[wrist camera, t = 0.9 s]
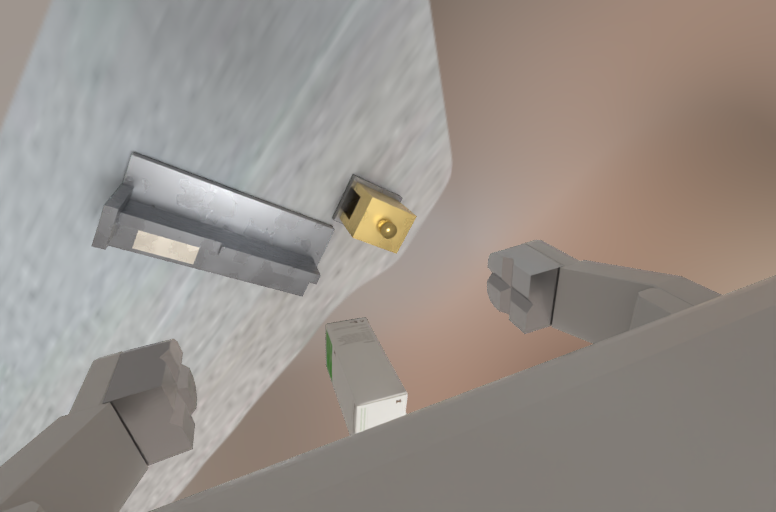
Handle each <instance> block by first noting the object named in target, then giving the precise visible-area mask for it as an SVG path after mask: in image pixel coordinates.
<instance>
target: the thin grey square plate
mask: <svg viewBox="0 0 776 512" xmlns="http://www.w3.org/2000/svg"><path fill="white" fill-rule="evenodd" d="M357 182H358V183H361V184H363V185H365V186H367V187H369V188H372V189H374V190H376V191H378V192H380V193H383V194H385V195H387V196H389V197H392V198H394V199H396V200H398V201H399V202H401V200H402V197H400V196H399V195H397V194H395V193H392V192H390V191H388V190H386V189H384V188H382V187H379V186H377V185H375V184H373V183H371V182H368V181H366V180H364V179H362V178H360V177H358V176H355V175H353V176H352V178H351V180H350V182H349V184H348V186H347V188H346V190H345V193H344V195H343V197H342V199H341V201H340V203H339V205H338V207H337V209H336V211H335V213H334V216H333V220H334V221H336V222H339V223H342V221H341V220H340V216H341V214H342V212H346V213H348V214H351V215H352V214H353V212H354V210H355V208H356V205H357V203H358V201H359V199H360V196H359V195H358V194H357V193H356V191H355V190H354V188H355V186H356V183H357ZM342 224H343V223H342Z"/></svg>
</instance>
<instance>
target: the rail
mask: <svg viewBox="0 0 776 512" xmlns="http://www.w3.org/2000/svg"><path fill="white" fill-rule="evenodd" d="M334 230H335V229H334V228H333V226H331V225H328V224H325V223H323V222H320V221H317V220H315V219H312V218H309V217H307V216H304V215H301V214H299V213H296V212H293V211H291V210H288V209H285V208H283V207H280V206H277V205H275V204H272V203H269V202H267V201H264V200H261V199H259V198H256V197H253V196H250V195H248V194H245V193H242V192H240V191H237V190H234V189H232V188H229V187H226V186H224V185H221V184H218V183H216V182H213V181H210V180H208V179H205V178H202V177H200V176H197V175H194V174H192V173H189V172H186V171H183V170H181V169H178V168H175V167H173V166H170V165H167V164H165V163H162V162H159V161H157V160H154V159H151V158H149V157H146V156H143V155H141V154H138V153H135V152H134V153H133V154H132V155H131V158H130V161H129V165H128V168H127V171H126V174H125V177H124V180H123V183H122V184H121V186H120V187H119V188H118V189H117V190H116V192H115V193H114V194H113V195H112V196H111V198H110V199H109V200H108V201H107V202H106V204H105V205H104V208H103V211H102V214H101V217H100V221H99V224H98V227H97V230H96V234H95V237H94V240H93V243H92V246H93V247H97V248H101V249H106V248H107V246H112V247H116V248H120V249H123V250H127V251H131V252H135V253H139V254H142V255H146V256H150V257H154V258H158V259H162V260H165V261H169V262H173V263H177V264H181V265H184V266H188V267H192V268H196V269H200V270H204V271H207V272H211V273H215V274H219V275H223V276H226V277H230V278H234V279H238V280H242V281H245V282H249V283H253V284H257V285H261V286H265V287H268V288H272V289H276V290H280V291H284V292H287V293H291V294H295V295H299V296H303V294H304V292H305V290H306V288H307V286H308V284H309V282H310V283H313V284H317V282H318V280H319V278H320V273H319V271H318V268H317V265H318V263H319V261H320V259H321V257H322V255H323V253H324V251H325V249H326V247H327V245H328V243H329V241H330V238H331V236H332V234H333V232H334Z"/></svg>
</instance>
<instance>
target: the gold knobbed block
mask: <svg viewBox="0 0 776 512" xmlns="http://www.w3.org/2000/svg"><path fill="white" fill-rule="evenodd" d="M354 190H355V191H356V193H357V194H358V195H359V196H360V199H359V201H358V203H357V205H356V208H355V210H354V212H353V214H352V215H351V214H348V213H346V212H342V214H341V216H340V220H341V221H342V223H343V224H344V226H345V227H346V229H347V230H348V232H349V233H350V234H351V236H352V237H353V238H355V239H358V240H361V241H364V242H366V243H369V244H372V245H374V246H377V247H380V248H383V249H385V250H388V251H391V252H394V253H396V254H397V252H398V250H399V248H400V246H401V244H402V242H403V241H404V239H405V237H406V235H407V233H408V231H409V230H410V228H411V226H412V224H413V222H414V220H415V218H416V217H417V216H416V215H414V214H413V213H412V212H411V211H410V210H408V209H407V208H406V207H405V206H404V205H403V204H401V203H400V202H399V201H398V200H396V199H394V198H392V197H389V196H387V195H385V194H383V193H380V192H378V191H376V190H374V189H372V188H369V187H367V186H365V185H363V184H361V183H358V182H357V183H356V186H355V188H354Z"/></svg>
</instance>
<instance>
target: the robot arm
mask: <svg viewBox="0 0 776 512" xmlns="http://www.w3.org/2000/svg"><path fill="white" fill-rule="evenodd" d="M488 268H489V269H490V271H491V272H492V274H491V276H490V277H489V279H488V281H487V292H488V295H489V298H490V301H491V302H492V304H493V305H494V307H496V308H497V309H498V310H499V311H501V312H504V313H507V314H509V320H510V321H511V322H512V323H513V324H514V325H516V326H517V327H518V328H519V329H520V330H521V331H522V332H523V333H524V334H526V333H530V332H533V331H536V330H539V329H542V328H545V327H549V326H552V327H553V328H556V329H558V330H561V331H563V332H565V333H568V334H570V335H573V336H575V337H578V338H580V339H583V340H585V341H588V342H591V343H593V344H592V345H590V346H587V347H585V348H582V349H579V350H576V351H574V352H571V353H568V354H566V355H563V356H560V357H558V358H555V359H552V360H550V361H547V362H544V363H542V364H539V365H536V366H534V367H531V368H528V369H526V370H523V371H520V372H518V373H515V374H512V375H510V376H507V377H504V378H502V379H499V380H497V381H494V382H491V383H488V384H486V385H483V386H480V387H478V388H475V389H472V390H470V391H467V392H465V393H462V394H460V395H457V396H454V397H451V398H449V399H446V400H443V401H441V402H438V403H436V404H433V405H430V406H428V407H425V408H422V409H420V410H417V411H414V412H412V413H409V414H406V415H404V416H401V417H399V418H396V419H393V420H391V421H388V422H385V423H383V424H380V425H377V426H375V427H372V428H369V429H367V430H364V431H361V432H359V433H356V434H354V435H351V436H348V437H346V438H343V439H340V440H338V441H335V442H332V443H330V444H327V445H324V446H322V447H319V448H317V449H314V450H311V451H308V452H306V453H303V454H301V455H298V456H295V457H292V458H290V459H288V460H284V461H282V462H280V463H276V464H274V465H271V466H269V467H266V468H263V469H261V470H258V471H255V472H253V473H250V474H247V475H245V476H242V477H239V478H237V479H234V480H231V481H229V482H226V483H223V484H221V485H218V486H215V487H213V488H210V489H207V490H205V491H202V492H199V493H197V494H194V495H191V496H189V497H186V498H184V499H181V500H178V501H176V502H173V503H170V504H168V505H165V506H162V507H160V508H157V509H154V510H152V511H149V512H776V275H775V276H772V277H770V278H767V279H764V280H762V281H759V282H756V283H754V284H751V285H749V286H746V287H743V288H740V289H738V290H735V291H733V292H730V293H727V294H725V295H721V294H719V293H717V292H714V291H712V290H710V289H708V288H705V287H703V286H701V285H699V284H697V283H695V282H693V281H691V280H688V279H686V278H684V277H682V276H676V275H670V274H664V273H658V272H652V271H646V270H641V269H634V268H629V267H623V266H617V265H610V264H605V263H599V262H593V261H587V260H583V261H579V260H577V259H575V258H573V257H571V256H569V255H568V254H566V253H564V252H562V251H560V250H558V249H556V248H555V247H553V246H551V245H549V244H547V243H545V242H543V241H542V240H533V241H530V242H527V243H524V244H521V245H518V246H515V247H511V248H508V249H505V250H501V251H498V252H494V253H492V254H490V256H489V259H488ZM182 356H183V352H182V350H181V348H180V346H179V344H178V342H177V341H176V340H175V339H170V340H166V341H162V342H158V343H154V344H150V345H146V346H142V347H138V348H134V349H130V350H126V351H124V352H118V353H114V354H111V355H107V356H104V357H100V358H98V359H96V360H94V361H93V363H92V365H91V367H90V369H89V371H88V373H87V375H86V378H85V380H84V382H83V384H82V386H81V389H80V391H79V393H78V395H77V397H76V399H75V402H74V404H73V406H72V408H71V410H70V412H69V414H68V415H65V416H62V417H59V418H58V419H57V420H56V421H54V422H53V423H52V424H51V425H50V426H48V427H47V428H46V429H45V430H44V431H42V432H41V433H40V434H39V435H38V436H37V437H35V438H34V439H33V440H32V441H31V442H29V443H28V444H27V445H26V446H25V447H23V448H22V449H21V450H20V451H19V452H17V453H16V454H15V455H14V456H13V457H11V458H10V459H9V460H8V461H7V462H5V463H4V464H3V465H2V466H1V467H0V512H119V511H120V509H121V508H122V506H123V505H124V503H125V502H126V500H127V499H128V497H129V496H130V494H131V493H132V491H133V490H134V489H135V487H136V486H137V484H138V483H139V481H140V480H141V478H142V477H143V475H144V474H145V472H146V471H147V469H148V466H149V465H151V464H154V463H157V462H159V461H162V460H165V459H167V458H170V457H173V456H175V455H178V454H181V453H183V452H186V451H189V450H191V449H193V439H194V429H195V423H194V421H193V419H192V416H191V414H192V413H193V412H194V411H195V409H196V406H197V394H196V386H195V382H194V379H193V376H192V373H191V371H190V368H188V367H186V366H184V365H182V364H181V363H182Z"/></svg>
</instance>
